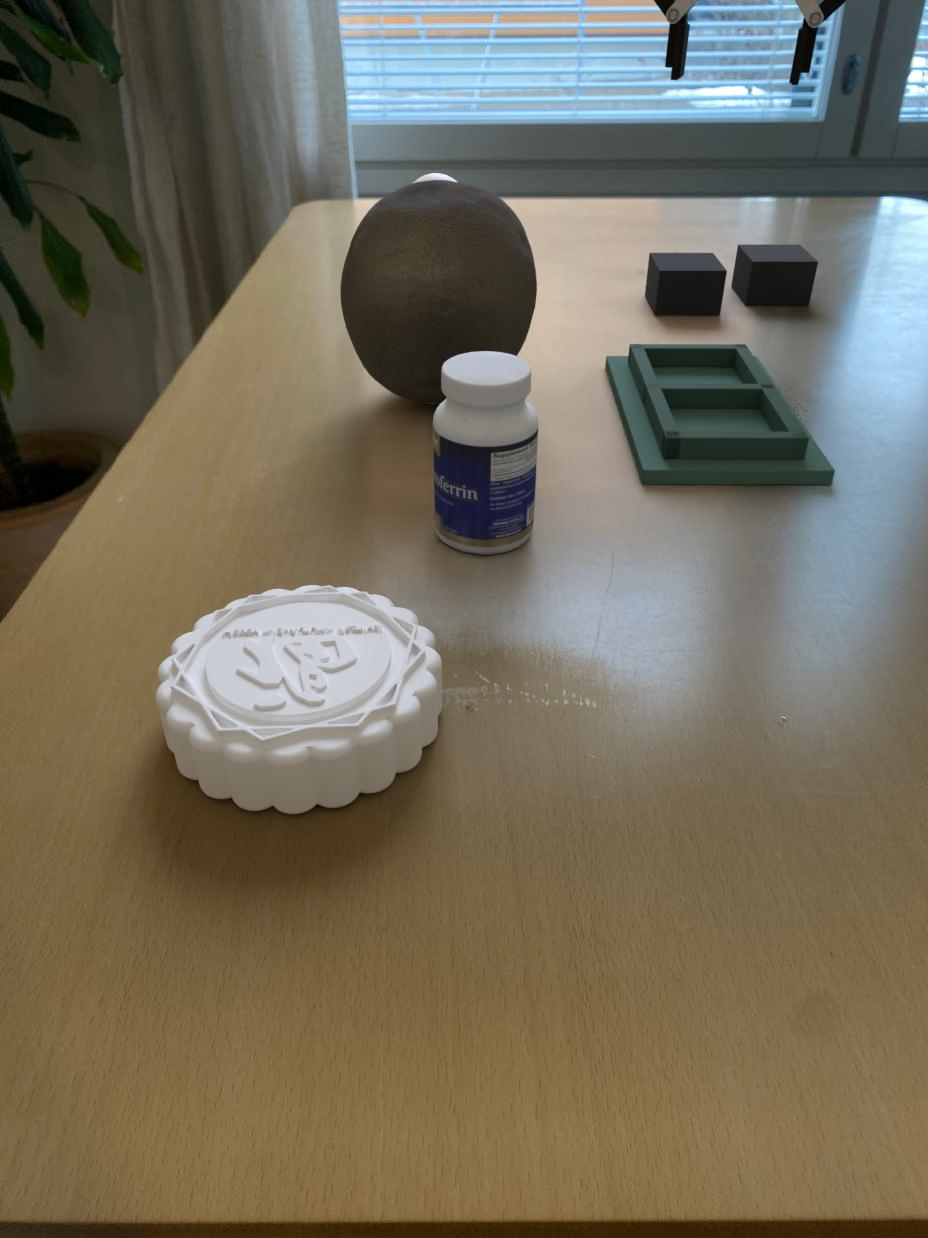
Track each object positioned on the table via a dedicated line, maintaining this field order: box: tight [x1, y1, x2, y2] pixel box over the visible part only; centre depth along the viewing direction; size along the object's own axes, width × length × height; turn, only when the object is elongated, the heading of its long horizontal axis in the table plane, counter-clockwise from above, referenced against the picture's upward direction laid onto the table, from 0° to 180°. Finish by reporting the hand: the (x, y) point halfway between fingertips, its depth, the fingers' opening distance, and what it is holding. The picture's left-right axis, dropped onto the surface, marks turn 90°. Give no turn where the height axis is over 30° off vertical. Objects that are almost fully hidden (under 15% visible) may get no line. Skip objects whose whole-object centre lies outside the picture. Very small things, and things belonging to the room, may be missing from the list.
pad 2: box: [730, 244, 819, 306], centre depth 90 cm, size 6×6×4 cm
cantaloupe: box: [340, 180, 538, 405], centre depth 66 cm, size 14×14×15 cm
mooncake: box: [155, 584, 443, 815], centre depth 41 cm, size 12×12×4 cm
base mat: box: [604, 343, 836, 485], centre depth 67 cm, size 12×20×2 cm, turn 0°
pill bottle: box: [432, 351, 539, 555], centre depth 52 cm, size 6×6×10 cm
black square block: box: [644, 252, 728, 316], centre depth 87 cm, size 6×6×4 cm
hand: (734, 80), depth 79 cm, fingers open, 9 cm apart
